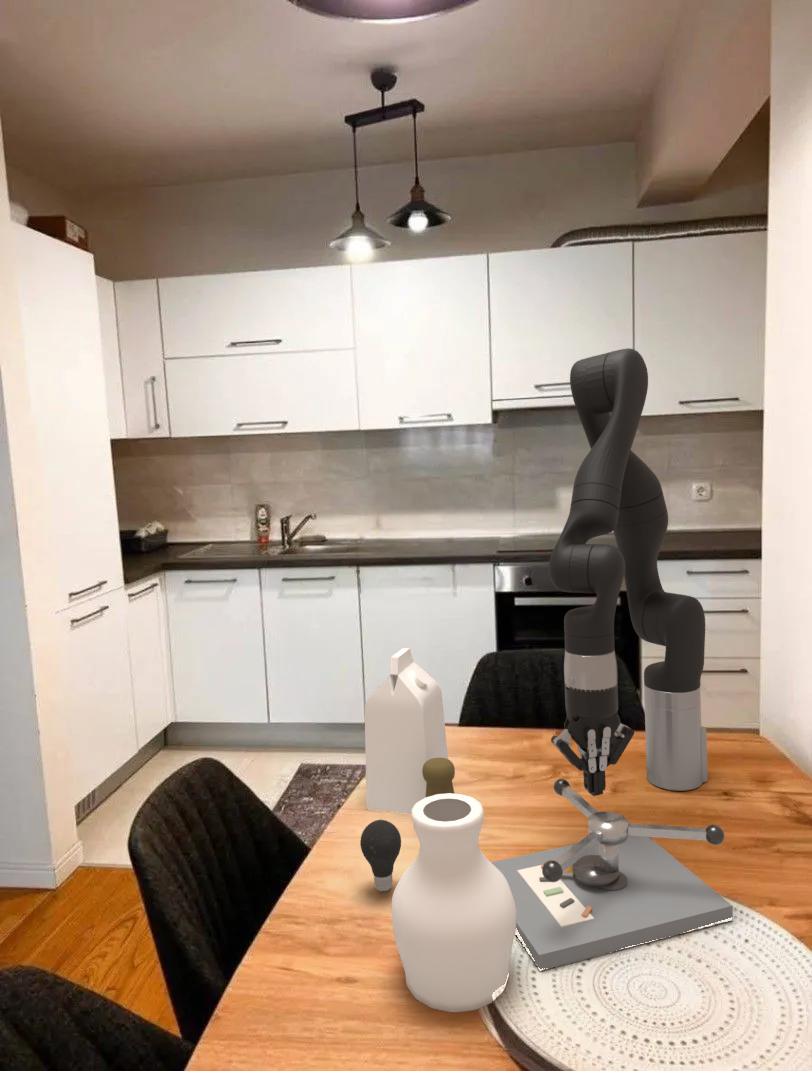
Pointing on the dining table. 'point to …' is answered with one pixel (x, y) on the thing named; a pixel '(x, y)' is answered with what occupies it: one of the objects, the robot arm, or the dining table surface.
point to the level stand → (607, 903)
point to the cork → (438, 776)
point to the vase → (453, 909)
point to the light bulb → (381, 851)
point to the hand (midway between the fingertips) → (594, 793)
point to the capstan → (610, 842)
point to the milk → (402, 735)
